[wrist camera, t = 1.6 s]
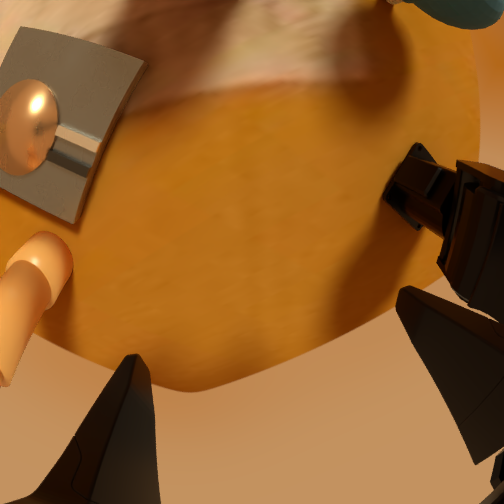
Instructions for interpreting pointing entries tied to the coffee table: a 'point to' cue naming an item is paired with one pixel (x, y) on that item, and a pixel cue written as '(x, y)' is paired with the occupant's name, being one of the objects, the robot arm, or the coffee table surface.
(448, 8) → the light bulb
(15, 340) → the tapered peach knob
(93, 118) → the plate
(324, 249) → the coffee table surface
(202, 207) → the coffee table surface
